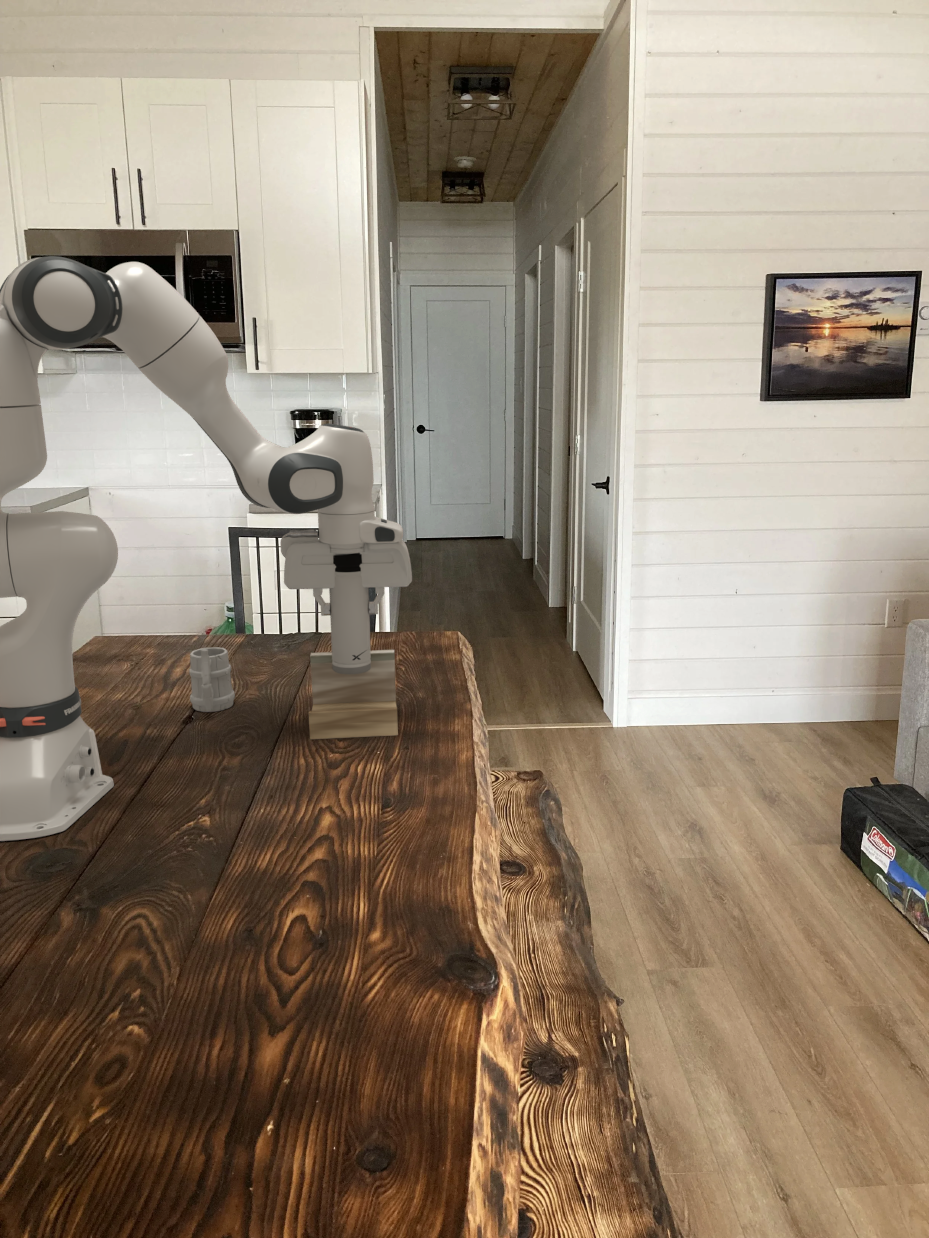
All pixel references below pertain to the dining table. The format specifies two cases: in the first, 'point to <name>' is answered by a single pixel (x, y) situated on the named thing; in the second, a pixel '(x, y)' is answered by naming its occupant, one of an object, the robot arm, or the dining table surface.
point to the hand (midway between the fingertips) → (349, 614)
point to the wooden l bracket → (353, 698)
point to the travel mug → (349, 617)
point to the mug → (210, 680)
